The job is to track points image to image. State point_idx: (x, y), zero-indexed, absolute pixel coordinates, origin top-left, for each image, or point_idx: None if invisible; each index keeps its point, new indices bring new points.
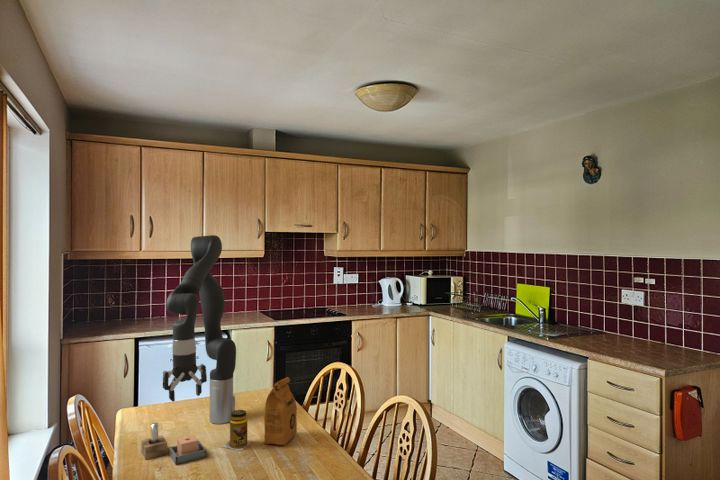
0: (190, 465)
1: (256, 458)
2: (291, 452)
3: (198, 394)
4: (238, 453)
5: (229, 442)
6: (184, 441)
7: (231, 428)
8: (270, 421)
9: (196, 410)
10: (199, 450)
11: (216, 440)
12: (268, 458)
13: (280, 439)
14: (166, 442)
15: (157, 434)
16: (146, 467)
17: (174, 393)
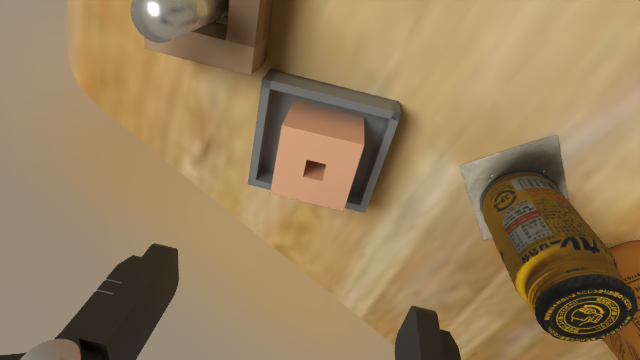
0: (293, 205)
1: (465, 303)
2: (559, 341)
3: (399, 356)
4: (458, 247)
5: (515, 157)
6: (292, 179)
7: (506, 254)
8: (636, 356)
9: None
10: (372, 146)
11: (503, 92)
12: (486, 323)
13: None
14: (248, 68)
15: (199, 26)
16: (163, 110)
17: (136, 357)
